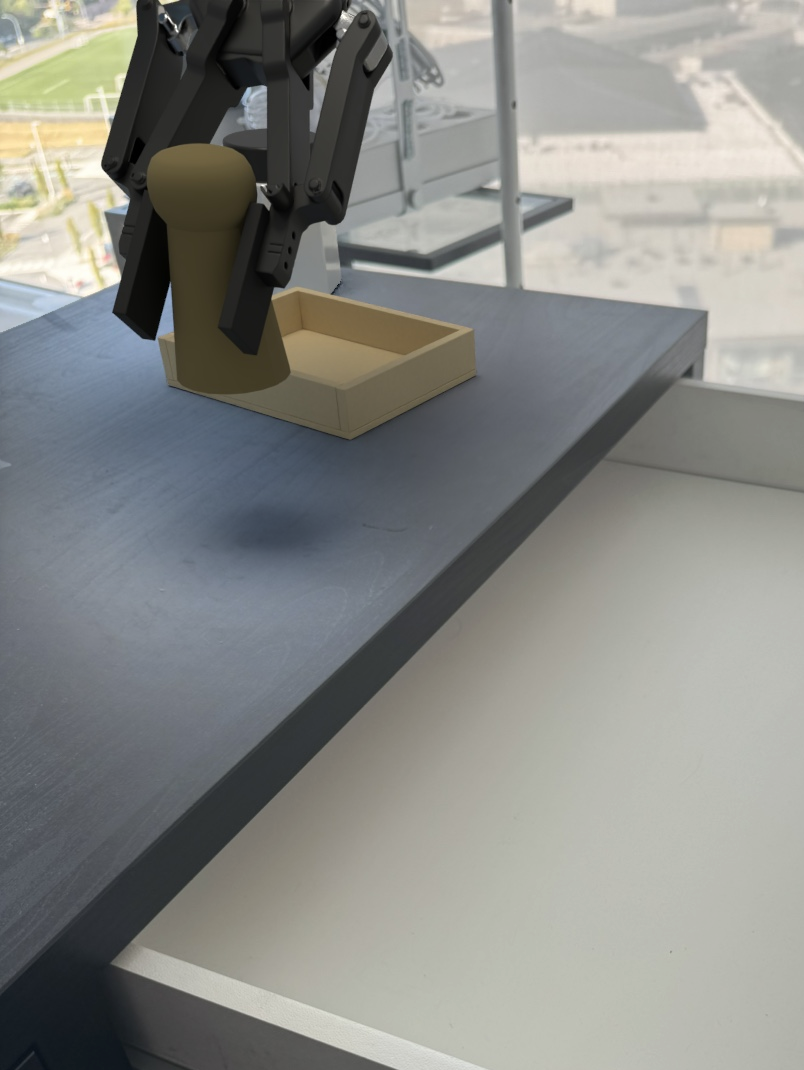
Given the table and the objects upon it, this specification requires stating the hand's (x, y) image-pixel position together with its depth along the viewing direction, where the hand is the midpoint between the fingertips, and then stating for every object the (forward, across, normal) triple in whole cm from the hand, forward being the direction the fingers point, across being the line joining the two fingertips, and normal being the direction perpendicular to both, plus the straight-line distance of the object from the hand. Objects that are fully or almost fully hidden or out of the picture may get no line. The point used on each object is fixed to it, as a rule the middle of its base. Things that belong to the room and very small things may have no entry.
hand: (185, 333), depth 59 cm
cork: (0, 0, +5) cm, 5 cm away
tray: (-10, -7, +28) cm, 30 cm away
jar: (-23, -20, +41) cm, 51 cm away
